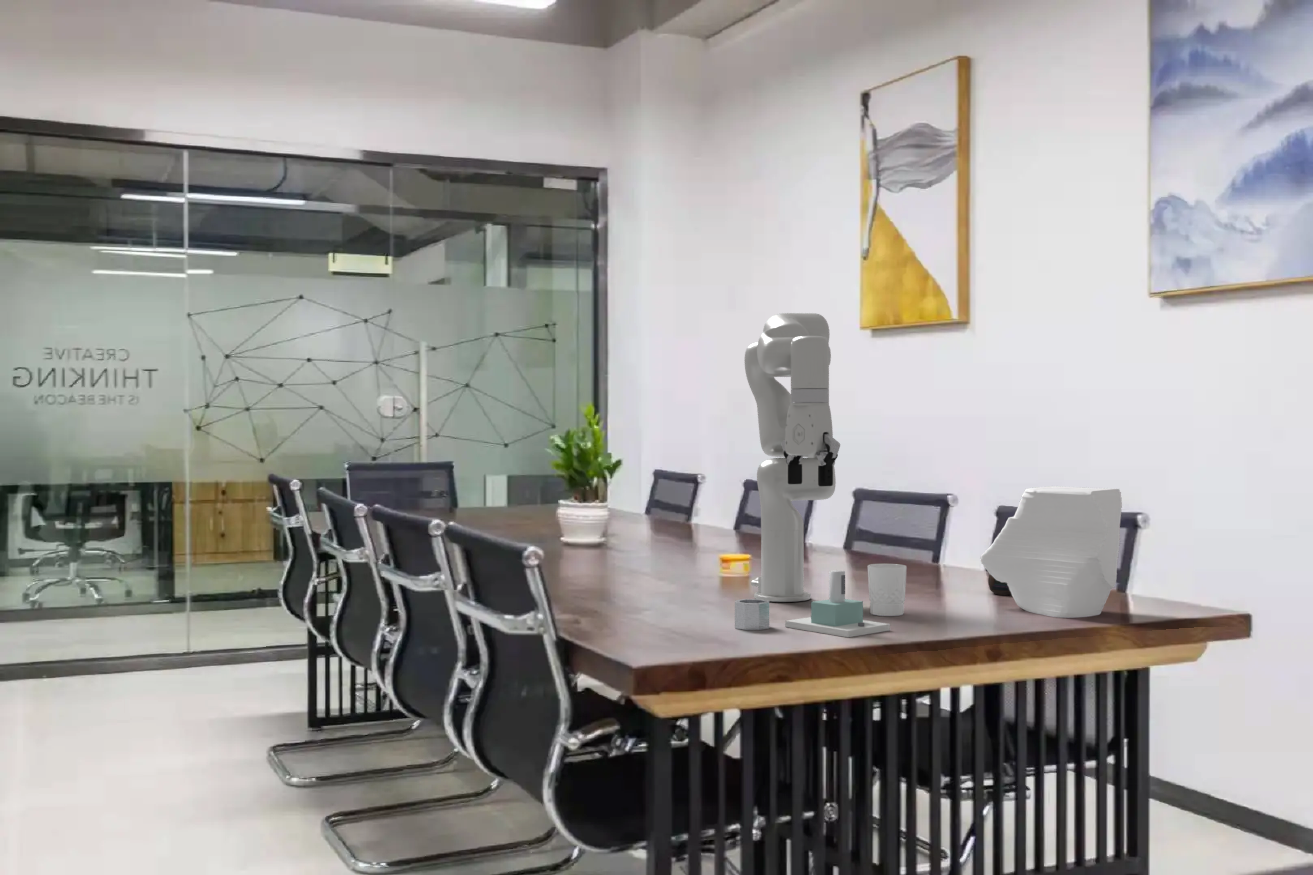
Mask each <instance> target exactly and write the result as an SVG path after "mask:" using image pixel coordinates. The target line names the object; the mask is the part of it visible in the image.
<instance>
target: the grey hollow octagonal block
mask: <svg viewBox="0 0 1313 875" xmlns="http://www.w3.org/2000/svg"><path fill="white" fill-rule="evenodd" d="M734 628H735V629H736V630H737V629H738V630H743V631H762V630H768V629H769V630H770V601H769V600H762V599H755V598H741V599H737V600H736V599H735V600H734Z"/></svg>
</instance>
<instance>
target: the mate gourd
mask: <svg viewBox="0 0 1313 875" xmlns="http://www.w3.org/2000/svg"><path fill="white" fill-rule="evenodd" d="M987 580H988V581H987V582H988V583H987V584H988V586H989V587H988V588H989V590H990V592H992V593H993V594H994V595H997V596H998V595H1000V596H1012V594H1011V591H1010V589H1009V587H1008V585H1007V583H1006V582H1000V581H997V580H996V579H995V578H994V577H993V576H992V575H990V573H989V575H988V578H987Z"/></svg>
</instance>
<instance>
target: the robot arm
mask: <svg viewBox="0 0 1313 875" xmlns="http://www.w3.org/2000/svg"><path fill="white" fill-rule="evenodd" d="M829 327H830V326H829V324H828V321H827V319H826V318H825V317H824V315H822V314H820V313H813V312H812V313H810V312H809V313H806V312H805V313H803V312H801V313H800V312H799V313H796V312H793V313H792V312H784V313H783V312H782V313H779V314H778V313H777V314H774V315H772V316H771V317H769V318H768V319H767V321H765V323H764V326H763V330H762V331H763V332H762V333H761V334H760V336H759V338H758V341H756V342H753V343H750V344H749V345H748V346H747V348H746V349H745V352H744V370H745V374H746V375H745V377H746V380H747V383H748V386H749V389H750V390H751V392H752V395H753V397H754V400H755V403H756V408H757V411H756V412H757V421H758V432H759V441H760V442H759V443H760V446H761V449H762V451H763V453H764V454H765V455H767V456H769V457H773V458H767V459H765V460H764V461H762V462H761V463H760V464H759V465H758V467H757V470H756V471H757V472H756V482H757V489H758V495H759V496H758V497H759V503H760V539H761V540H760V544H761V546H760V547H761V548H760V550H761V551H760V552H761V553H760V554H761V555H760V561H761V562H760V564H761V565H760V566H761V567H760V568H761V570H760V571H761V572H760V574H761V575H760V577H759V576H758V577H756V578H754V579H753V580H751V582H750V584H751V586H752V587H757V590H758V591H756V592H754V596H753V599H762V600H769V602H772V603H773V602H776V603H790V602H792V603H793V602H794V603H795V602H804V601H809V600H810V599H811V598H812V596H811V593H810V592H808V591H804V590H805V589H804V588H805V587H804V586H805V584H804V583H805V582H804V580H805V576H804V573H805V572H804V571H805V569H804V568H805V567H804V565H805V563H804V562H805V561H804V552H805V551H804V547H805V546H804V542H805V541H804V536H805V535H804V529H805V528H804V525H805V524H804V520H803V517H802V514H801V513H800V512H799V510H798V509H797V508H796V506H794V505H793V503H792V502H796V501H824V500H827V499H830V498H831V497H832V496H833V495H834V494H835V491H836V484H837V482H836V469H835V464H836V460H837V458H838V454H839V451H840V447H841V444H840V442H839V441H838V440H837V439H835V438H834V437H833V435H834V434H833V433H834V432H833V421H832V412H831V408H830V365H831V359H832V355H831V354H832V353H831V347H830V328H829ZM776 378H790V392H789V391H788V389H787V388H786V387H785V386H784V385H783V384H782V383H780V382H779V381H778V380H777V379H776Z"/></svg>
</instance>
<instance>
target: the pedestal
mask: <svg viewBox="0 0 1313 875" xmlns="http://www.w3.org/2000/svg"><path fill="white" fill-rule="evenodd" d="M828 574H829V575H828V578H829V580H828V597H829V599H823V600H815V601H811V602H810V606H811V608H810V611H811V612H810V616H809V617H801V618H796V619H795V618H793V619H789V620H788V619H787V620H785V621H784V623H785V624H784V627H785V628H787V629H789V628H790V629H795V630H800V631H807V632H812V633H813V632H814V633H820V634H825V635H832V636H838V637H844V638H853V637H857V636H859V637H860V636H864V635H870V634H878V633H882V632H883V633H884V632H889V631H891V623H885V622H879V621H872V620H867V619H866V620H864V601H863V600H855V599H849V598H846V571H845V570H837V569H836V570H829V571H828Z"/></svg>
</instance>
